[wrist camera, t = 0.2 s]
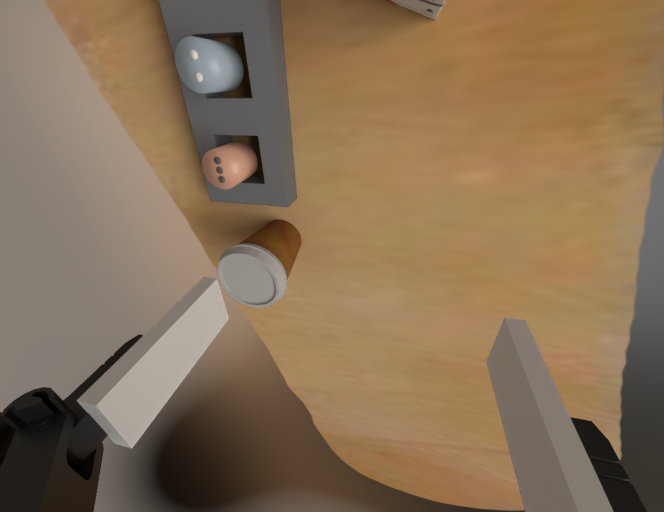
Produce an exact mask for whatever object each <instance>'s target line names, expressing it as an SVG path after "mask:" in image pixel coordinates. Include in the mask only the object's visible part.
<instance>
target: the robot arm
mask: <svg viewBox="0 0 664 512" xmlns="http://www.w3.org/2000/svg"><path fill="white" fill-rule="evenodd" d="M228 319H229V317H228V314H227V311H226V307H225V304H224V301H223V297H222V294H221V291H220V288H219V284H218V281H217V279H214V278H206V277H203V278H202V279H201V280H200V281H199V282H198V283H197V284H196V285H195V286H194V287H193V288H192V289H191V290H190V291H189V292H188V293H187V294H186V295H185V296H184V297H182V299H181V300H179V301H178V302H177V303H176V304H175V305H174V306H173V307H172V308H171V309H170V310H169V311H168V312H167V313H166V314H165V315H164V316H163V317H162V318H161V319H160V320H159V321H158V322H157V323H156V324H155V325H154V326H153V327H152V328H151V329H150V330H149V331H148V332H147V333H146V334H145V335H138V336H136V337H134V338H133V339H131V340H129V341H128V342H126V343H125V344H124V345H123V346H122V347H121V348H120V349H118V351H116V353H114V355H113V356H111V357H110V358H109V359H108V360H107V361H106V362H105V364H104V365H103V364H102V365H101V366H100V367H99V368H98V369H97V370H96V371H95V372H94V373H93V374H92V375H91V376H90V377H89V378H88V379H87V380H85V382H83V383H82V384H81V385H80V386H79V387H78V388H77V389H76V390H75V391H74V392H73V393H72V394H70V395H69V396H68V397H67V398H66V399H65V400H62V399H61V398H60V397H59V396H58V395H57V394H56V393H55V392H54V391H53V390H52V389H51V388H45V387H43V388H39V389H34V390H32V391H30V392H28V393H25V394H24V395H22V396H20V397H19V398H17V399H16V400H14V401H13V402H12V403H11V404H10V405H9V406H7V407H6V408H5V409H4V411H3V412H2V413H1V412H0V512H93V511H94V505H95V499H96V493H97V487H98V481H99V474H100V468H101V462H102V456H103V450H104V448H103V443H102V441H103V440H104V439H105V438H106V436H107V435H108V436H109V437H110V439H111V440H112V441H113V442H114V443H115V444H119V445H122V446H125V447H129V448H133V446H134V445H135V444H136V442H137V441H138V440H139V438H140V437H141V435H142V434H143V433H144V432H145V430H146V429H147V428H148V426H149V425H150V423H151V422H152V421H153V420H154V418H155V417H156V416H157V414H158V413H159V411H160V410H161V409H162V408H163V406H164V405H165V403H166V402H167V401H168V399H169V398H170V397H171V396H172V394H173V393H174V392H175V390H176V389H177V388H178V386H179V385H180V384H181V382H182V381H183V380H184V378H185V377H186V375H187V374H188V373H189V371H190V370H191V369H192V367H193V366H194V365H195V363H196V362H197V361H198V359H199V358H200V357H201V355H202V354H203V353H204V351H205V350H206V349H207V347H208V346H209V345H210V343H211V342H212V341H213V339H214V338H215V337H216V335H217V334H218V333H219V331H220V330H221V329H222V327H223V326H224V325H225V323H226V322H227V321H228ZM486 362H487V366H488V370H489V374H490V377H491V381H492V385H493V389H494V393H495V397H496V401H497V405H498V408H499V412H500V416H501V420H502V424H503V428H504V432H505V436H506V439H507V443H508V447H509V451H510V455H511V459H512V463H513V467H514V470H515V474H516V478H517V482H518V486H519V490H520V494H521V497H522V501H523V505H524V509H525V512H647V511H646V509H645V507H644V505H643V503H642V502H641V500H640V498H639V496H638V494H637V492H636V490H635V489H634V487H633V485H632V484H630V482H629V477H628V476H627V474H626V472H625V470H624V468H623V466H621V465H620V461H619V459H618V457H617V455H616V453H615V451H614V449H613V448H612V446H611V444H610V442H609V440H608V439H607V438H606V437H605V436H604V435H603V434H602V433H601V431H600V430H599V429H598V428H597V427H596V426H595V425H594V424H593V423H592V421H587V420H582V419H577V418H572V417H570V416H569V414H568V411H567V409H566V407H565V405H564V403H563V401H562V398H561V396H560V394H559V392H558V390H557V388H556V385H555V383H554V381H553V379H552V377H551V375H550V372H549V370H548V368H547V366H546V364H545V362H544V359H543V357H542V355H541V353H540V351H539V349H538V346H537V344H536V342H535V340H534V338H533V335H532V333H531V331H530V329H529V327H528V325H527V322H526V321H525V320H518V319H510V318H504V320H503V323H502V325H501V327H500V330H499V332H498V335H497V337H496V340H495V342H494V344H493V347H492V349H491V352H490V354H489V356H488V359H487V361H486Z"/></svg>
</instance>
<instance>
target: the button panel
mask: <svg viewBox="0 0 664 512" xmlns="http://www.w3.org/2000/svg"><path fill="white" fill-rule="evenodd" d="M159 3H160V7H161V11H162V15H163V18H164V22H165V26H166V30H167V34H168V38H169V42H170V45H171V49H172V53H173V57H174V61H175V52H176V48H177V45H178V43H179V42H180V41H181V40H182V39H183V38H185V37H189V36H192V37H198V38H204V39H210V40H211V38H221V37H240V36H244V43H245V50H246V57H247V64H248V71H249V78H250V85H251V91H252V97H222V92H215V93H204V94H202V93H197V92H195V91H193V90H191V89H190V88H189V87H188V86H187V85H186V84H185V83H184V82H183V81H182V79H181V77H180V75H179V73H178V71H177V73H178V76H179V80H180V84H181V88H182V92H183V96H184V100H185V104H186V107H187V111H188V115H189V119H190V123H191V127H192V131H193V134H194V138H195V142H196V146H197V150H198V154H199V158H200V162H201V165H202V159H203V156H204V155H205V153H206V152H208V151H209V150H212V149H215V148H217V147H220V146H223V145H225V144H228V143H231V138H230V135H243V136H258V140H259V146H260V153H261V160H262V167H263V174H264V176H258V175H252V176H250V177H248V178H247V179H245V180H244V181H242V182H240V183H239V184H237V185H236V186H234V187H232V188H230V189H220V188H218V187H216V186H214V185H213V184H212V183H211V182H210V181H209V180H208V179H207V178H206V176H205V174H204V177H205V181H206V185H207V189H208V193H209V196H210V200H211V201H219V202H231V203H244V204H256V205H269V206H281V207H289V206H290V205H291V204H292V203H293V202H294V201H295V200H296V198H297V192H296V181H295V169H294V158H293V146H292V134H291V123H290V111H289V99H288V88H287V76H286V65H285V53H284V41H283V30H282V18H281V7H280V0H159ZM175 65H176V63H175ZM176 69H177V68H176ZM202 169H203V168H202ZM203 173H204V172H203Z"/></svg>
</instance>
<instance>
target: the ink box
mask: <svg viewBox="0 0 664 512" xmlns="http://www.w3.org/2000/svg"><path fill="white" fill-rule="evenodd" d="M387 1H390V2H392V3H395V4H397V5H399V6H402V7H404V8H407V9H409V10H412V11H414V12H417V13H419V14H421V15H424V16H426V17H429V18H431V19H434V20H436V18H437V17H438V15H439V13H440V11H441V9H442V7H443V5H444V3H445V1H446V0H387Z"/></svg>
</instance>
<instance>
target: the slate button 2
mask: <svg viewBox="0 0 664 512" xmlns="http://www.w3.org/2000/svg"><path fill="white" fill-rule="evenodd" d="M175 63H176V68H177V71H178V73H179V75H180V77H181V79H182V81H183V82H184V83H185V84H186V85H187V86H188V87H189V88H190V89H191V90H193V91H195V92H197V93H202V94H204V93H215V92H227V91H233V90H236V89H237V88H238V87H239V86H240V85H241V83H242V80H243V76H244V68H243V63H242V60H241V57H240V55H239V54H238V52H237V51H236V50H235V48H233V47H232V46H231V45H230V44H228V43H225V42H221V41H215V40H210V39H204V38H198V37H192V36H189V37H185V38H183V39H182V40H181V41H180V42H179V43H178V45H177V48H176V52H175Z"/></svg>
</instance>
